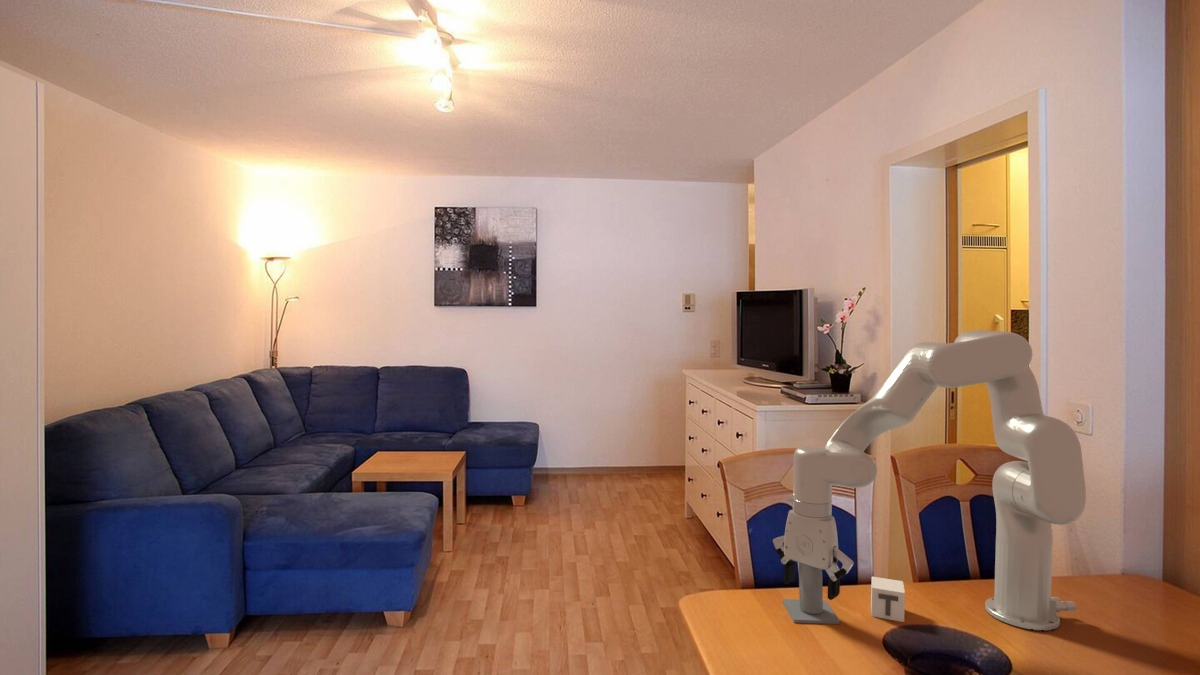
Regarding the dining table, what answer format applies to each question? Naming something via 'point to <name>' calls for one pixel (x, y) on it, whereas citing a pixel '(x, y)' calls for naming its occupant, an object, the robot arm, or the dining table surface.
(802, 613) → the grey mat
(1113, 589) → the dining table surface
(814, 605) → the grey hollow tube
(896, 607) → the letter cube
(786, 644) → the dining table surface
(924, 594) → the dining table surface
